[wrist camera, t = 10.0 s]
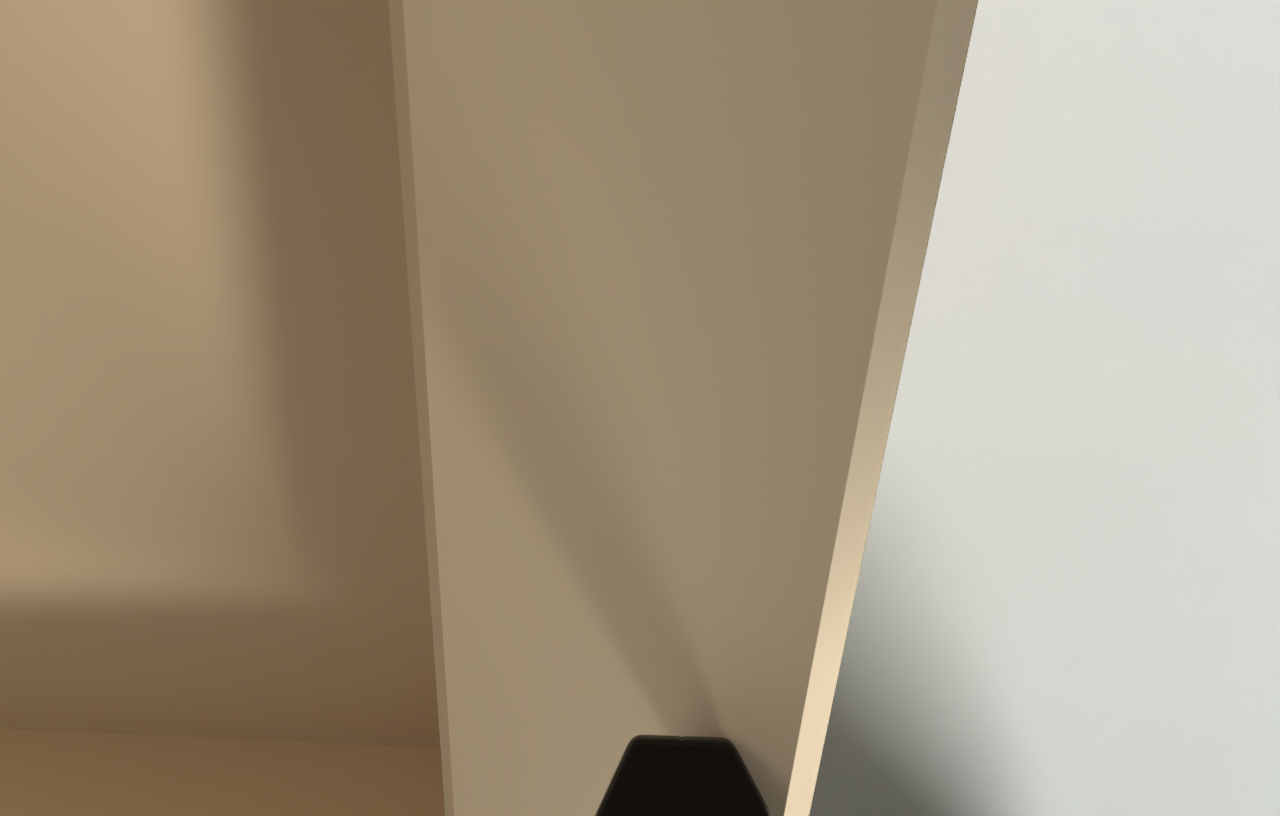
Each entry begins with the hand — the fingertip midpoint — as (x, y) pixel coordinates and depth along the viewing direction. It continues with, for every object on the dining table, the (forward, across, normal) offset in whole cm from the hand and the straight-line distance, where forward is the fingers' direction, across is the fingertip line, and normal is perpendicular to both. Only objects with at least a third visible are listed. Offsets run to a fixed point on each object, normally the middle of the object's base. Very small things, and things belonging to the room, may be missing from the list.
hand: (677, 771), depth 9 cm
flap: (+3, +2, 0) cm, 4 cm away
